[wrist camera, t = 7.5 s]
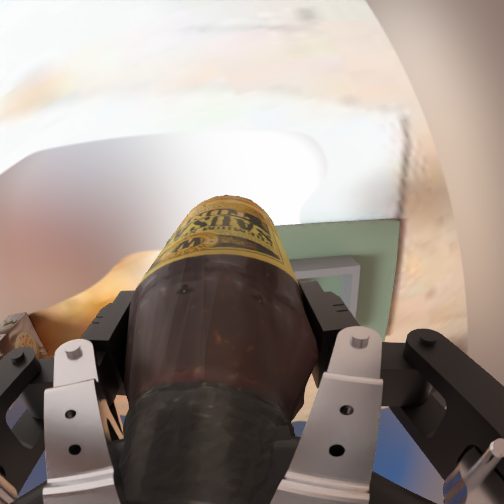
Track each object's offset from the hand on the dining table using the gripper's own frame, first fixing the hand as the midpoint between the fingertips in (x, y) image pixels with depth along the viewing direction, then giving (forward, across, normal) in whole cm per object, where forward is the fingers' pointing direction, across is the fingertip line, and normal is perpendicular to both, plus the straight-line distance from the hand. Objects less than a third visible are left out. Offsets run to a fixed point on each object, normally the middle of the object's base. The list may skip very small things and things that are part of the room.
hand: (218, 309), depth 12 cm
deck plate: (+28, -11, +14) cm, 33 cm away
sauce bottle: (+10, 0, 0) cm, 10 cm away
